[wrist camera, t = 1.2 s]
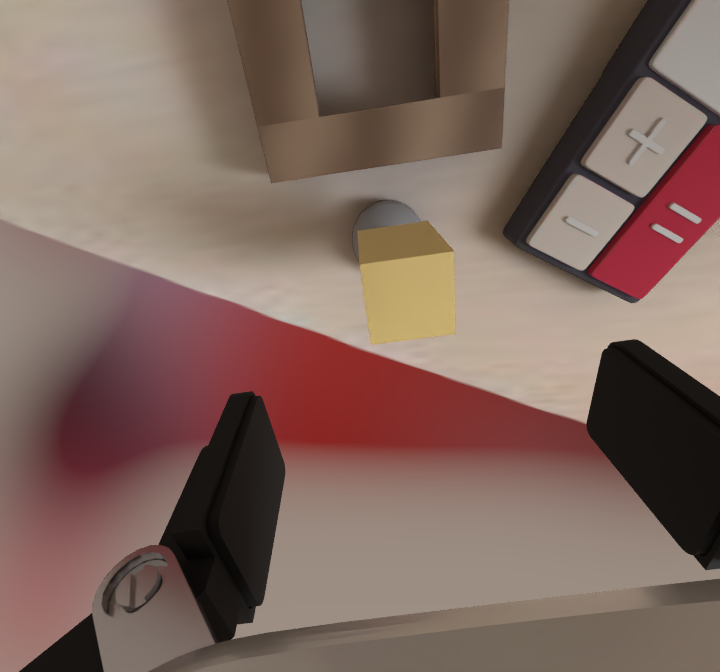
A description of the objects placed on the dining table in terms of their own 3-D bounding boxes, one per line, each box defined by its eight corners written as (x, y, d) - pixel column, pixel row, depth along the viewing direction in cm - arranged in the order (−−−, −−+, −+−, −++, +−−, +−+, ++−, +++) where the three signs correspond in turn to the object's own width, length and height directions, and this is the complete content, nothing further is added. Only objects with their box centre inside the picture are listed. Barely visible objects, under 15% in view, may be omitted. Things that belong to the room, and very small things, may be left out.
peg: (419, 195, 25) (466, 237, 15) (423, 264, 27) (465, 341, 17) (347, 205, 25) (346, 254, 15) (357, 274, 28) (362, 354, 18)
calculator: (517, 249, 24) (722, -46, 16) (496, 230, 27) (656, -18, 20) (642, 310, 26) (870, 76, 19) (607, 286, 30) (787, 82, 23)
